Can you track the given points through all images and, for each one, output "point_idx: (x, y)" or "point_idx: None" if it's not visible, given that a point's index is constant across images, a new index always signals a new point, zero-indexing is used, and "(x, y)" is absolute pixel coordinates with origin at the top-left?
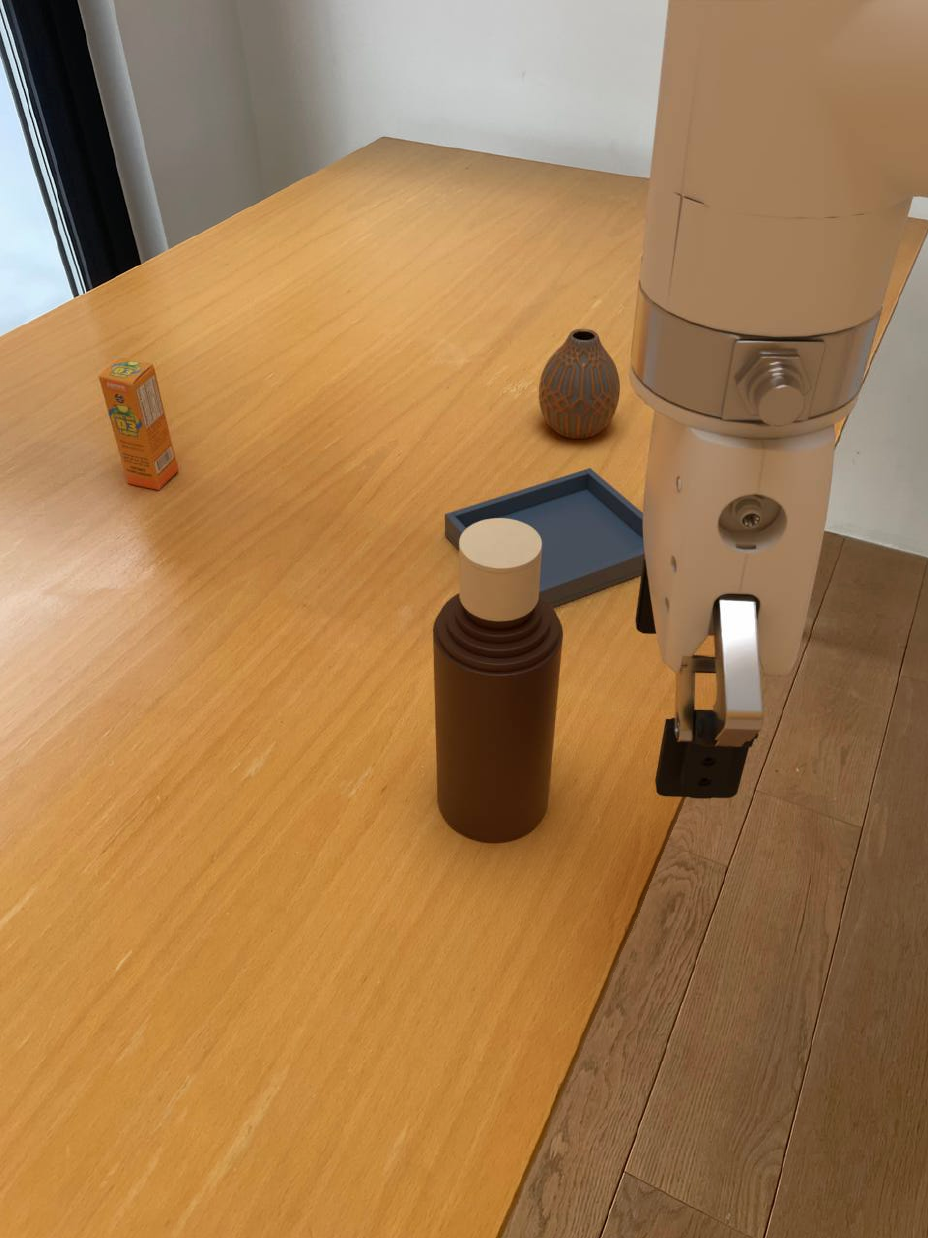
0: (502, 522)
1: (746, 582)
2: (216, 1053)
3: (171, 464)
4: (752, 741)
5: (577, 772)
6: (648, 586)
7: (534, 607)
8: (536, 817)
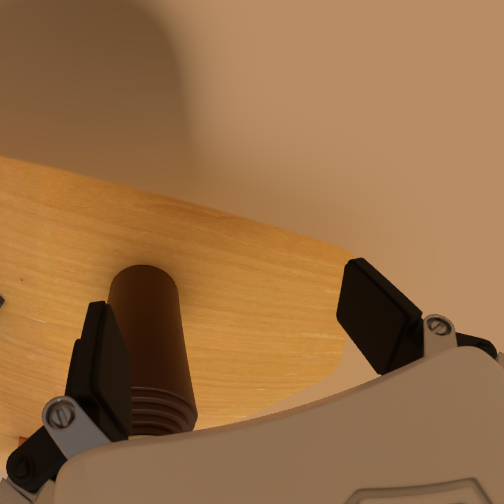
0: None
1: None
2: (295, 354)
3: (22, 443)
4: (493, 346)
5: (108, 250)
6: (130, 415)
7: (154, 436)
8: (160, 274)
